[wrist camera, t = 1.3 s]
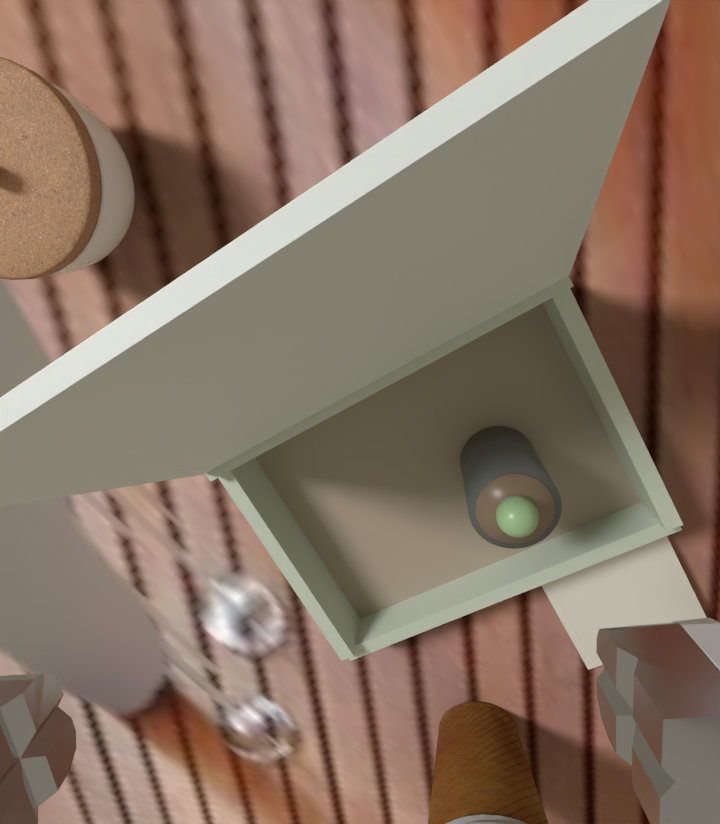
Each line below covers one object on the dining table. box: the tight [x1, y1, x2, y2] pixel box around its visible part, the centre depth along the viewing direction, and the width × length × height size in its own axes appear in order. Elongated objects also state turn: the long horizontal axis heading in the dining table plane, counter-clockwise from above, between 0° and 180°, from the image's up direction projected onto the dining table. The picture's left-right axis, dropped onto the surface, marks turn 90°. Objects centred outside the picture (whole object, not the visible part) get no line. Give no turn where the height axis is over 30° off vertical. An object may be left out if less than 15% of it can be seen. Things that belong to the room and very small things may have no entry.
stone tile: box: [541, 536, 707, 670], centre depth 37 cm, size 9×9×1 cm
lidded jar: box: [0, 57, 135, 280], centre depth 29 cm, size 11×11×9 cm
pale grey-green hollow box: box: [0, 0, 683, 661], centre depth 25 cm, size 24×25×23 cm
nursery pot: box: [460, 426, 562, 549], centre depth 31 cm, size 5×5×9 cm
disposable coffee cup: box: [428, 702, 548, 824], centre depth 37 cm, size 10×10×12 cm
